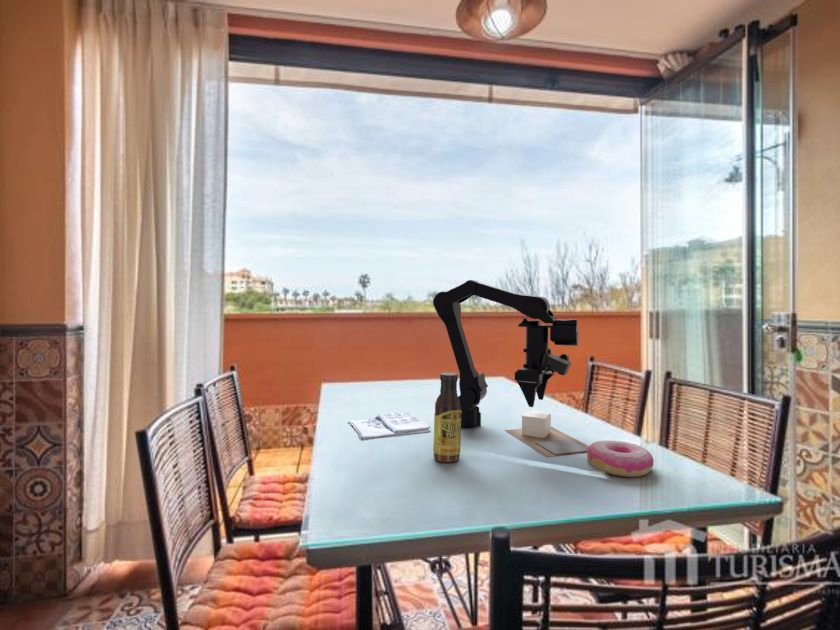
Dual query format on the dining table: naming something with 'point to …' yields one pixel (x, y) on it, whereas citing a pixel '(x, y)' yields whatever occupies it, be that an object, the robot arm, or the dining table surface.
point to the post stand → (551, 443)
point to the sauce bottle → (447, 420)
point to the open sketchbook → (389, 426)
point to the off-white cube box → (536, 424)
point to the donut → (620, 458)
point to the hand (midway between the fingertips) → (536, 403)
